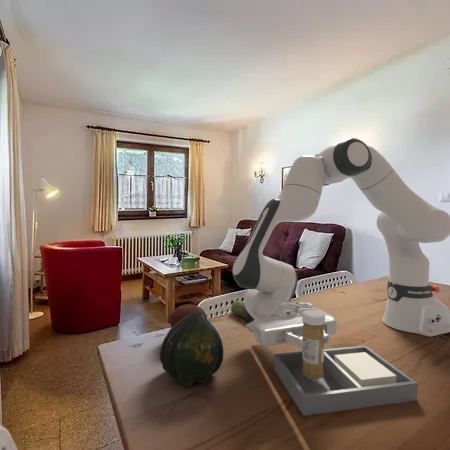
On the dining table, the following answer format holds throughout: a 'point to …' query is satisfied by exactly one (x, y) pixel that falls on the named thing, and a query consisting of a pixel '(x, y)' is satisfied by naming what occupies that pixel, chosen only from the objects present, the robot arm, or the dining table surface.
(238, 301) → the vegetable
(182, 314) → the muffin
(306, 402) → the tray
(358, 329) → the dining table surface
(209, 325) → the squash
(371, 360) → the cream rectangular block
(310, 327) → the sprinkles bottle
